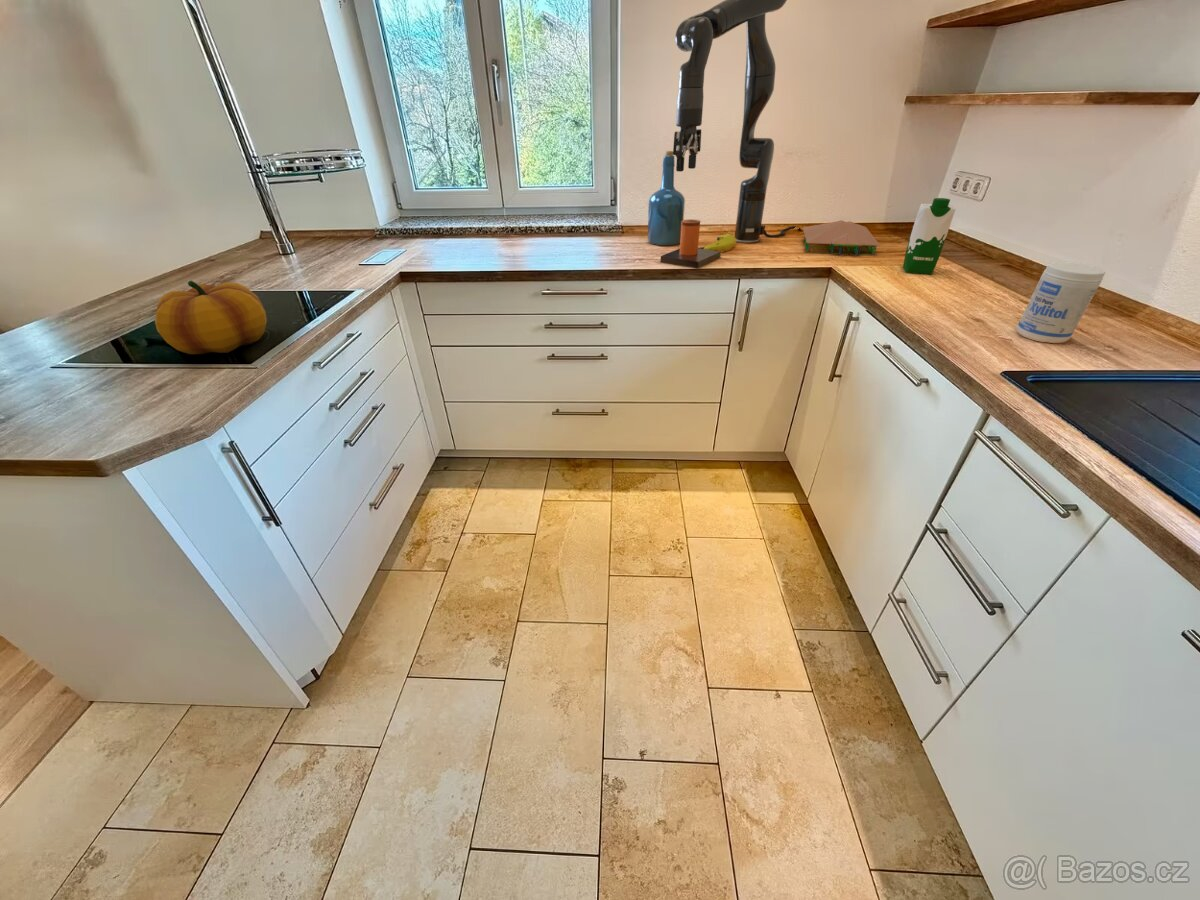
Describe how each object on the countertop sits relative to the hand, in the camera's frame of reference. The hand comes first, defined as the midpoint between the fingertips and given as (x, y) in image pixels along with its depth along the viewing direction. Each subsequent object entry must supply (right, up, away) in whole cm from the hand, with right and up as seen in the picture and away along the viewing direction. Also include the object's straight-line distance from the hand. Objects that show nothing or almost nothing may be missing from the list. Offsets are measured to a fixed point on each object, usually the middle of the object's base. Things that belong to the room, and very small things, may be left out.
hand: (685, 169), depth 158 cm
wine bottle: (-2, -8, +36) cm, 37 cm away
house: (+59, -13, +26) cm, 65 cm away
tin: (+3, -21, +13) cm, 25 cm away
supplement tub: (+70, -62, -47) cm, 105 cm away
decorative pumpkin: (-113, -63, -40) cm, 136 cm away
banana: (+15, -14, +27) cm, 34 cm away
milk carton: (+70, -33, -3) cm, 77 cm away
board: (+4, -23, +13) cm, 27 cm away
